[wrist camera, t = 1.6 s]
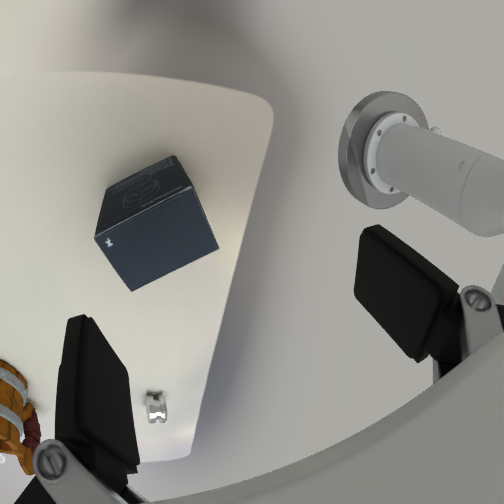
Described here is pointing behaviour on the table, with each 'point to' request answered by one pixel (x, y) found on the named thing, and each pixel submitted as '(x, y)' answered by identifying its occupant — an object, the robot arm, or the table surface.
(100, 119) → the table surface
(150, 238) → the box
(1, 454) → the bowl
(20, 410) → the mug
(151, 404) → the grooved metal pulley
